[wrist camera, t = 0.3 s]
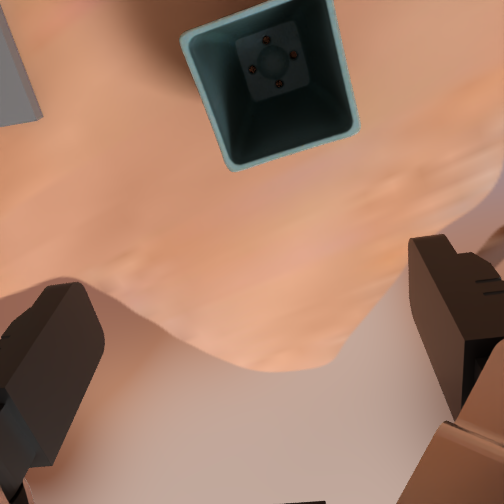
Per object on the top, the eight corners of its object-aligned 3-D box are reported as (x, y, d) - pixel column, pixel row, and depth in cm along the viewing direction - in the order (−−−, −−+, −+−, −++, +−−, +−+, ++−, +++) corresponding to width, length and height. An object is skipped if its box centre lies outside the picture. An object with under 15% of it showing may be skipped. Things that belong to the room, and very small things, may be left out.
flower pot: (345, 100, 37) (363, 134, 29) (238, 135, 39) (229, 175, 31) (315, -23, 33) (328, -24, 25) (198, 21, 35) (175, 34, 27)
